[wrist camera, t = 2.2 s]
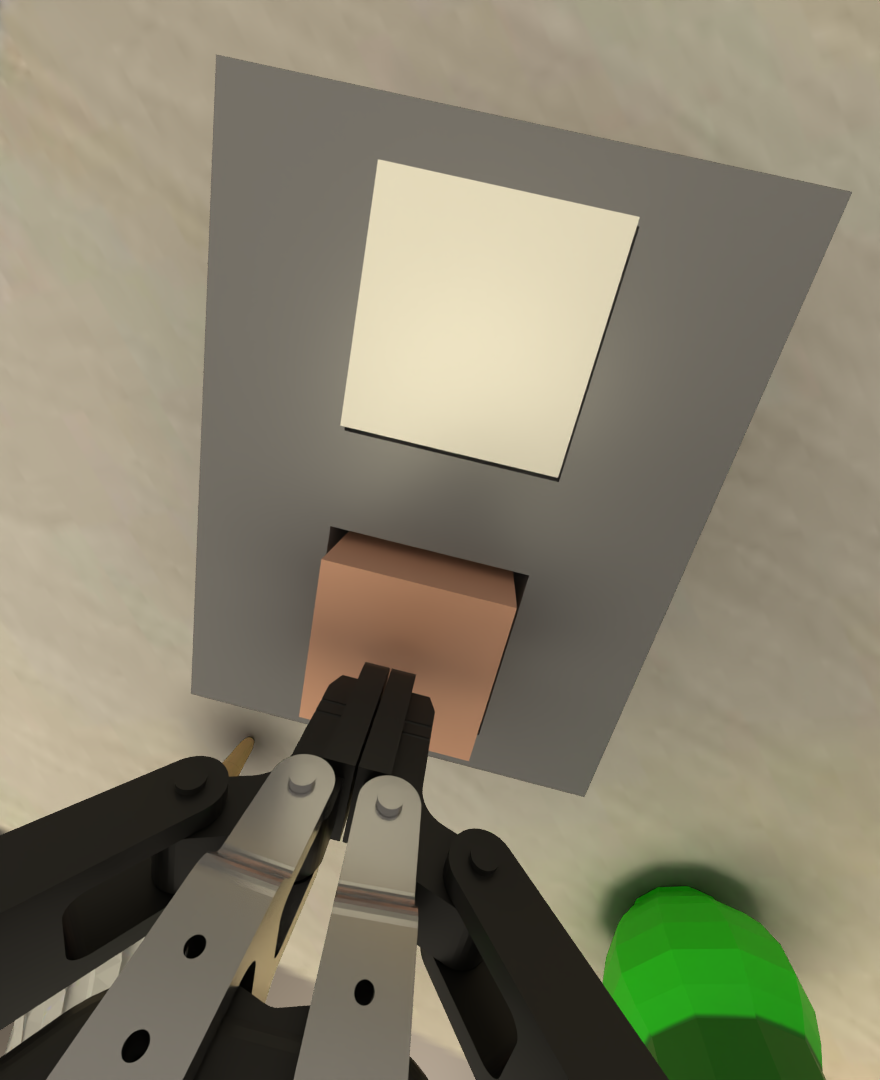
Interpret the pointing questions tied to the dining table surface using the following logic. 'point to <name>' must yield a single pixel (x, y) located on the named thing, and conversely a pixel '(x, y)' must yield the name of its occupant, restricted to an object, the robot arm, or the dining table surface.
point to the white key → (480, 316)
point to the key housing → (453, 479)
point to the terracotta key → (412, 629)
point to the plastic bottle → (710, 991)
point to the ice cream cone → (110, 969)
